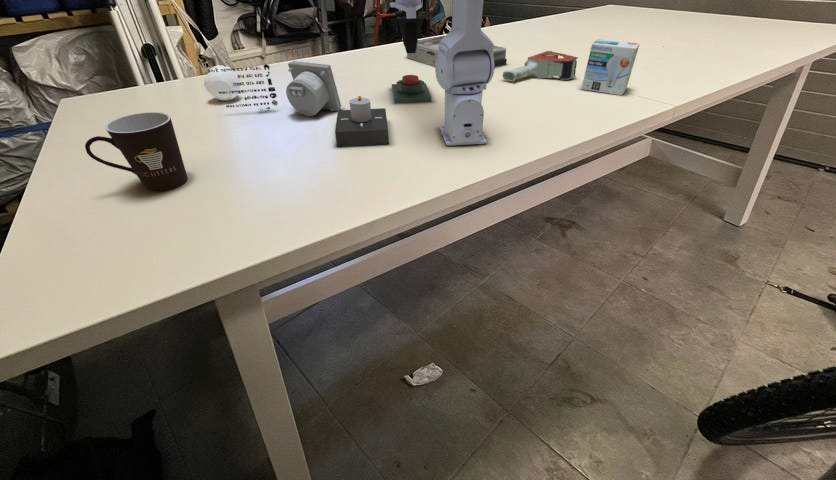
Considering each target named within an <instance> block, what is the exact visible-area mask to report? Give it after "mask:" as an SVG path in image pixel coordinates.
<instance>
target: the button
mask: <svg viewBox="0 0 836 480" xmlns="http://www.w3.org/2000/svg"><path fill="white" fill-rule="evenodd" d="M401 80H402V83H403V85H408V86H413V85H418V84H419V80H420V78H419V76H418V75H416V74H406V75H403V76H402V77H401Z"/></svg>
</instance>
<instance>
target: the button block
mask: <svg viewBox="0 0 836 480" xmlns="http://www.w3.org/2000/svg"><path fill="white" fill-rule="evenodd" d="M391 92H392V98H393V102H394V103H393V104H395V105H396V104H399V105H401V104H422V103H424V104H425V103H432V102H433V101H432V100H433V99H432V95H431V92H430V89H429V88H428V85H427V83H426V82H425V81H424V80H421V79H419V84H418V85H413V86H408V85H403V83H402V79H400V80H397V81H396V83H391Z"/></svg>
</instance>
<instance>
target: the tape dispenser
mask: <svg viewBox="0 0 836 480" xmlns="http://www.w3.org/2000/svg"><path fill="white" fill-rule="evenodd" d="M577 59H579V57H577V56H574V55H569V54H565V53H560V52H557V51H553V50H545V51H543V52H541V53H537V54H534V55H531V56H528V57H527V60H526V61H525V62H524V65H523V66H520V67H516V68H513V69H509V70H508V69H506V70H504V71H503V72H502V79H503V80H504V81H507V82H511V83H513V82H515V81H516V80H518V79H522V78H524V77H526V76H529V77H533V78H535V79H536V78H538V79H553V78H554V77H559V78H558V79H559V80H561V81H568V80H571V79H575V78H576V77H577V76H576V69H577V66H578V65H577V63H578V61H577Z"/></svg>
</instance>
